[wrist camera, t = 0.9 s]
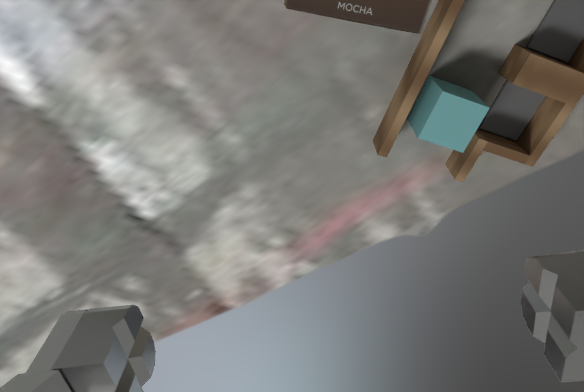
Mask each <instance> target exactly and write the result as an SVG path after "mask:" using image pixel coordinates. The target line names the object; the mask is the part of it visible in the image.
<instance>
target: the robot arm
mask: <svg viewBox="0 0 584 392" xmlns="http://www.w3.org/2000/svg"><path fill="white" fill-rule="evenodd" d="M524 274H525V275H526V277H527V278H528V280H529V283H528V284H527V285H526V286H525V287H524V288H523V289H522V293H521V307H522V313H523V317H524V319H525V322H526V325H527V327H528V328H529V330H530V332H531V334H532V335H533V336H534V337H535V338H537V339H539V340H540V341H542V342H544V343H545V349H544V355H545V357H546V359H547V360H548V362H549V363H550V365H551V367H552V368H553V370H554V372H555V373H556V375H557V376H558V378H559V380H560V381H561V382H573V381H584V250H581V251H574V252H566V253H558V254H550V255H542V256H534V257H529V258H528V259H527V261H526V263H525V268H524ZM142 321H143V315H142V313H141V311H140V309H139V307H138V306H135V305H125V306H115V307H104V308H94V309H89V310H78V311H68V312H66V313H64V314H63V315H61V317H60V318H59V320H58V321H57V323H56V325H55V326H54V328H53V330H52V331H51V333H50V334H49V336H48V338H47V339H46V341H45V343H44V344H43V346H42V347H41V349H40V351H39V352H38V354H37V355H36V357H35V359H34V360H33V362H32V364H31V365H30V367H29V368H28V370H27V372H26V373H24V374H18V375H17V376H15V377H14V378H13V379H11V380H10V381H9V382H7V383H6V384H5V385H3V386H2V387H1V388H0V392H143V390H142V386H143V385H144V384H145V382H147V381H148V380H149V379H150V378H151V376H152V372H153V369H154V366H155V346H154V341H153V339H152V336H151V334H150V332H148V331H147V330H145V329H144V328H142V327H141V324H142Z"/></svg>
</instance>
